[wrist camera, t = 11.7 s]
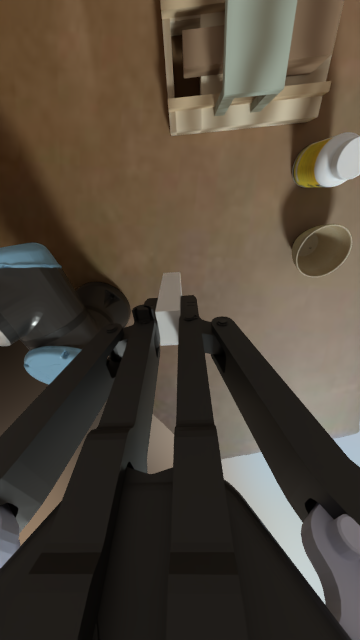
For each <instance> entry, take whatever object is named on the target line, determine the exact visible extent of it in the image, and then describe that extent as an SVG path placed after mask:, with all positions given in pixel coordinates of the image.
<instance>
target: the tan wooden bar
mask: <svg viewBox="0 0 360 640" xmlns="http://www.w3.org/2000/svg"><path fill="white" fill-rule="evenodd" d="M343 4H344V0H297V6H296V13H295V19H294V26H293V33H292V39H291V46H290V53H289V59H288V66H287V73H286V77H288V76H297V75H305V74H310V73H312V72H313V71H314V70H315V69H316V68H317V67H318V66H319V65H321V64H322V63H323V62H324V61H325V60H326V59H327V58H329V57H330V56H331V55H332V53H333V49H334V44H335V40H336V35H337V31H338V26H339V22H340V17H341V13H342V8H343ZM224 26H225V25H220V26H212V27H205V28H197V29H189V30H182V51H183V74H184V78H192V77H200V76H209V75H217V74H223V57H224Z"/></svg>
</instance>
